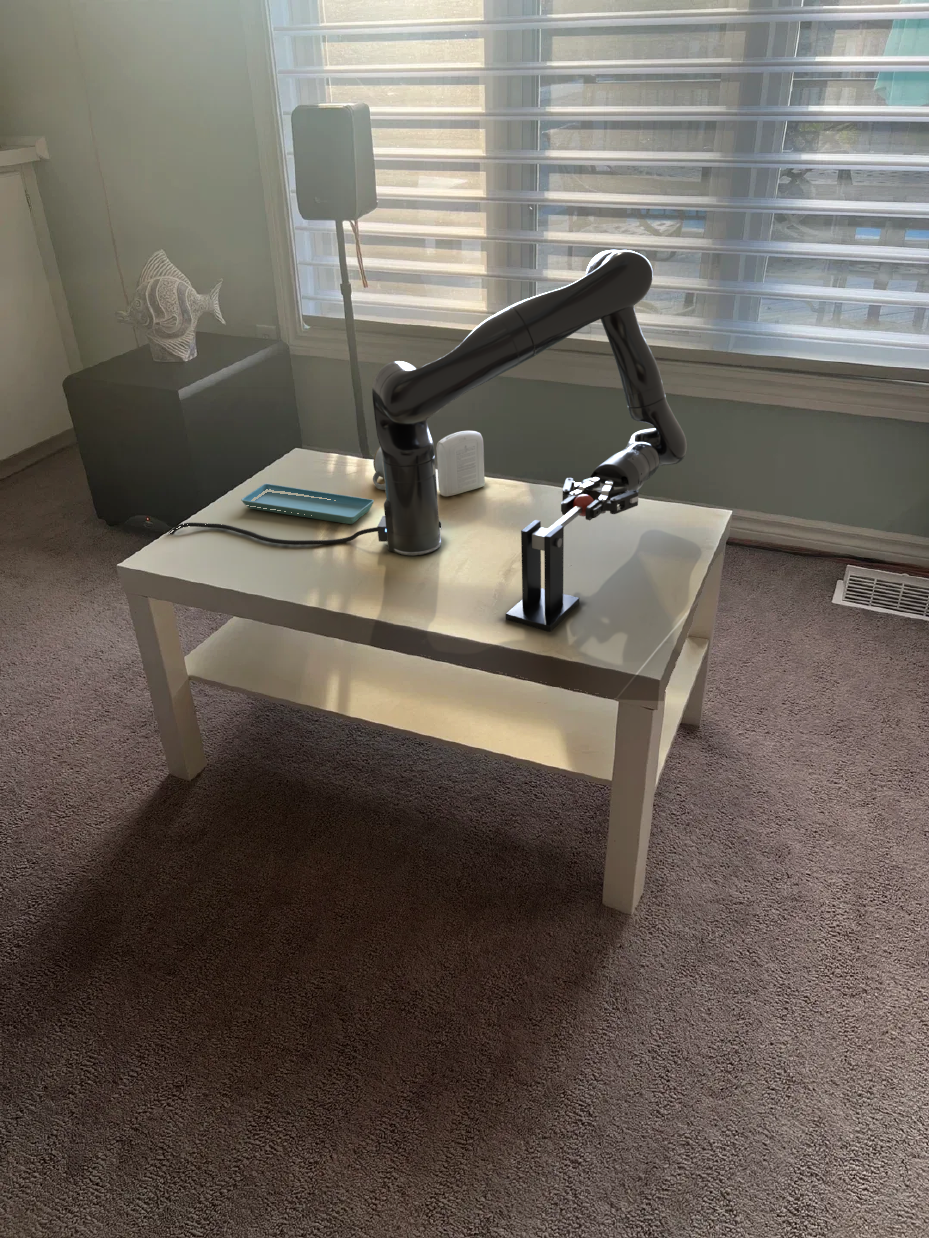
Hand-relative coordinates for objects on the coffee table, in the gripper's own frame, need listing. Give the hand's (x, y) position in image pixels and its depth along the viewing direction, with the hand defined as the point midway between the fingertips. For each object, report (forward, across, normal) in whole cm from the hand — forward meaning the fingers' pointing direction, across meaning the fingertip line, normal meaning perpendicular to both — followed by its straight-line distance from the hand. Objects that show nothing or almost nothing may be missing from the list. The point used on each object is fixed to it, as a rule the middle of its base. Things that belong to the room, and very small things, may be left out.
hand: (576, 512), depth 148 cm
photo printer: (-25, -39, +13) cm, 48 cm away
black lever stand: (+11, 0, +13) cm, 17 cm away
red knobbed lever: (+4, 0, +2) cm, 4 cm away
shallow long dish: (-2, -62, +13) cm, 63 cm away
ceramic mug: (-22, -54, +13) cm, 60 cm away
